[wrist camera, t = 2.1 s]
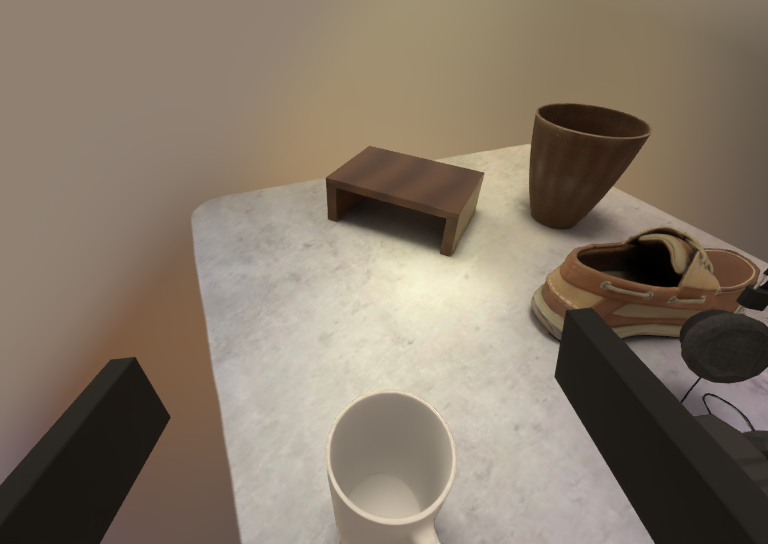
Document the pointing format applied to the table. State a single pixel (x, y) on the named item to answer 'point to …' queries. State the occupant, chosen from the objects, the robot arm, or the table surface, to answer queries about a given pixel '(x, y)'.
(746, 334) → the headphones
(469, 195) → the walnut shelf
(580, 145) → the flower pot
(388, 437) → the mug
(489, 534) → the table surface
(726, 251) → the boat shoe
